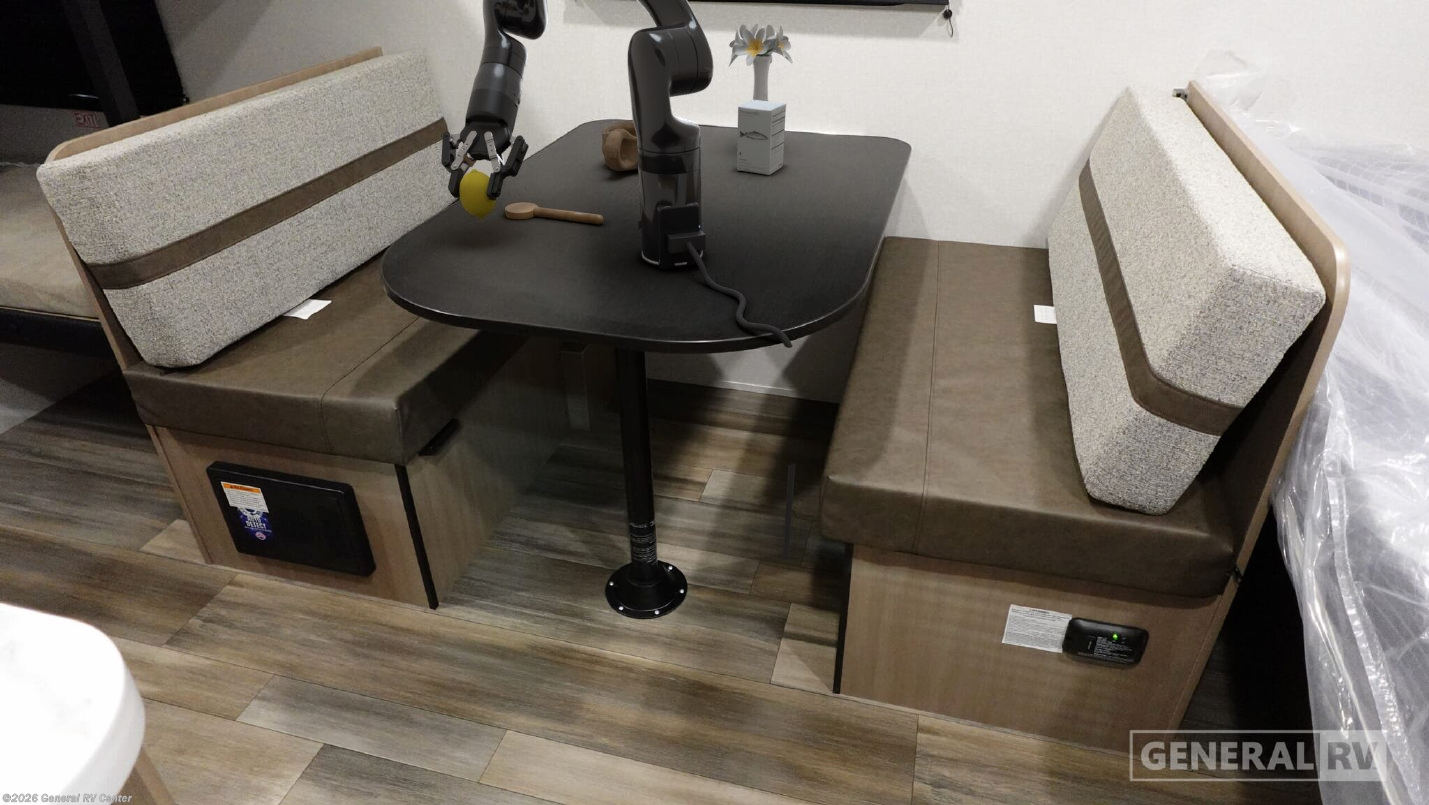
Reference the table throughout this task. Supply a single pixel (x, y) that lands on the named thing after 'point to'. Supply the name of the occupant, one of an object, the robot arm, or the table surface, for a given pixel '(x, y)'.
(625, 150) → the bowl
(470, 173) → the lemon
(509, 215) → the spoon
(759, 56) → the flower vase
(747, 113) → the white packaging box
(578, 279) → the table surface
